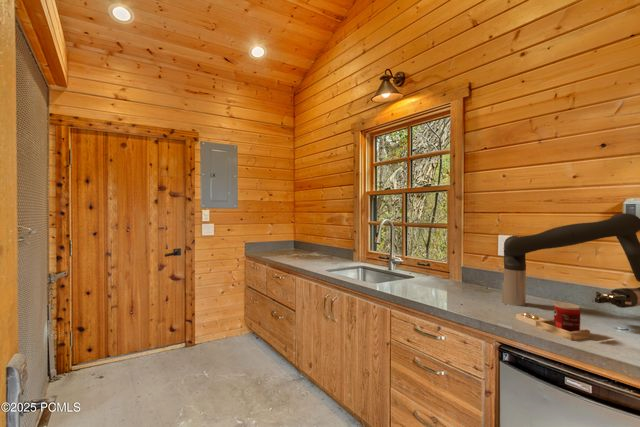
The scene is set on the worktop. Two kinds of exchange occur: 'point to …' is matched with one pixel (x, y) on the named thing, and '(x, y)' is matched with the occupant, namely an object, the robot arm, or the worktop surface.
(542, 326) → the birch holder
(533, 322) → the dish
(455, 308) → the worktop surface
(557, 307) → the canned food
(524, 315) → the steel ball
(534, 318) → the brass ball
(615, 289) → the robot arm
